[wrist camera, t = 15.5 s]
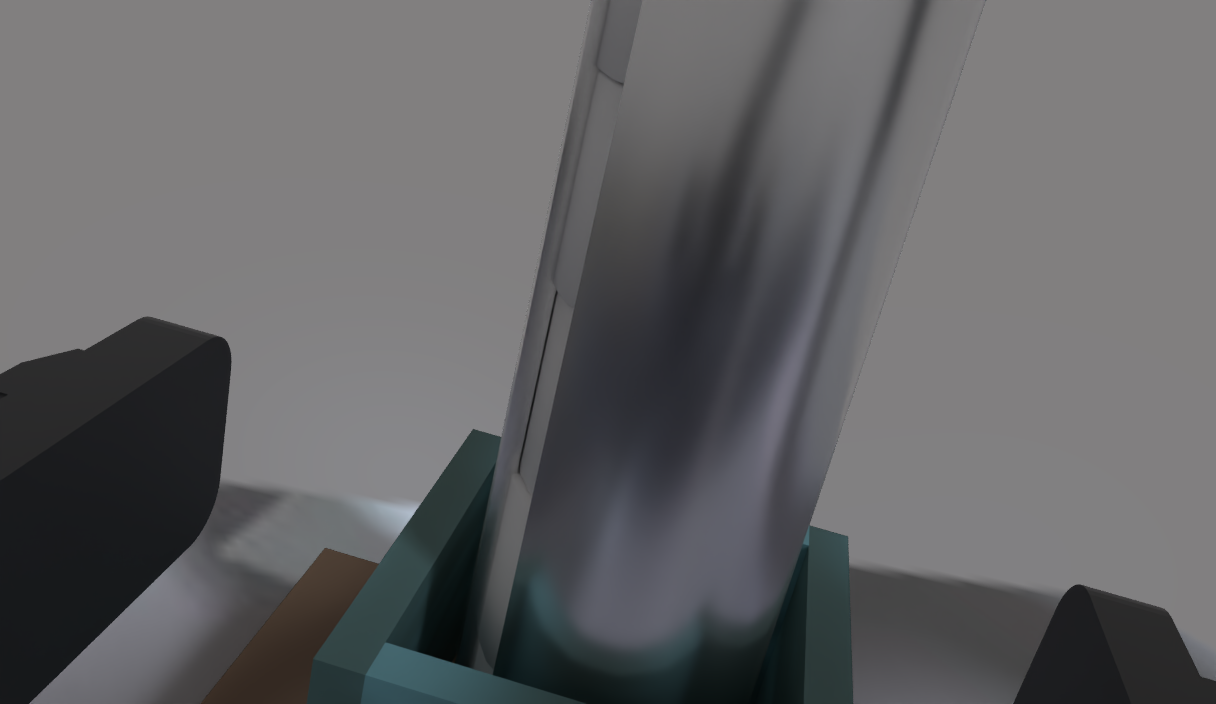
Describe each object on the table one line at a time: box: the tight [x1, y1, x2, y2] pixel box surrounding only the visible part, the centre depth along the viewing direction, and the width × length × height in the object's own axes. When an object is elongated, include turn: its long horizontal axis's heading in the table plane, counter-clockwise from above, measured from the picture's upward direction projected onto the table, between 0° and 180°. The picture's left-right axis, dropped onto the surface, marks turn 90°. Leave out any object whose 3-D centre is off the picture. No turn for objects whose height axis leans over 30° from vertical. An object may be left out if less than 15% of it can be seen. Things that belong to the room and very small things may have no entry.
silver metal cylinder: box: [455, 0, 986, 704], centre depth 22 cm, size 6×6×25 cm
